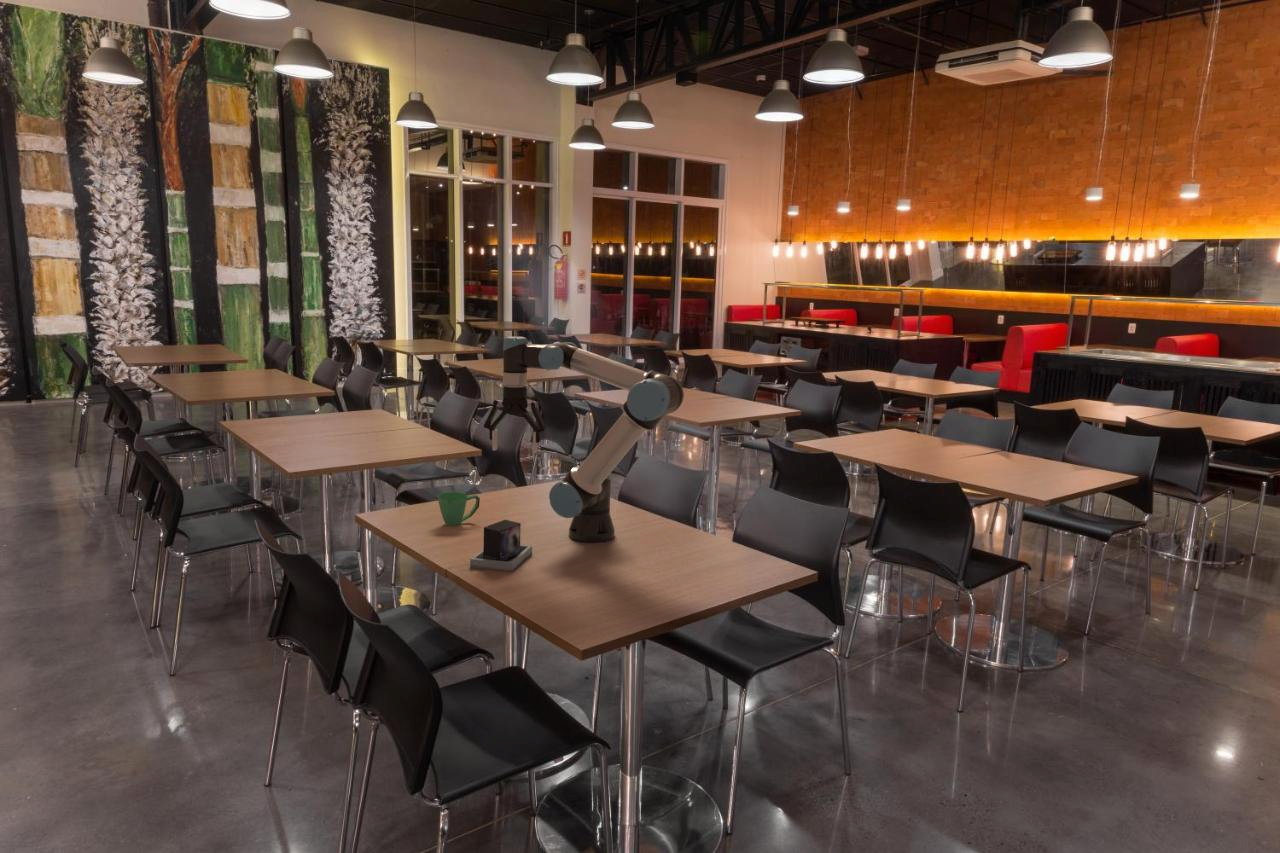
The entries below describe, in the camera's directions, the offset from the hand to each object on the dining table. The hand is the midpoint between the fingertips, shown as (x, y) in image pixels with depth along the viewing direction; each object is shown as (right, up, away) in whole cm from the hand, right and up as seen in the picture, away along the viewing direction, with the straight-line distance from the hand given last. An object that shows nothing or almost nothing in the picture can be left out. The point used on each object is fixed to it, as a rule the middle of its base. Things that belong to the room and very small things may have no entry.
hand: (515, 451), depth 271 cm
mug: (-22, -25, +18) cm, 38 cm away
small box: (-1, -32, -19) cm, 37 cm away
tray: (-1, -32, -19) cm, 37 cm away
